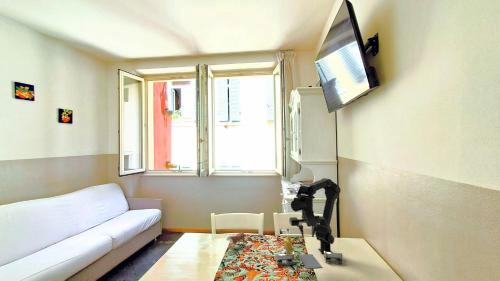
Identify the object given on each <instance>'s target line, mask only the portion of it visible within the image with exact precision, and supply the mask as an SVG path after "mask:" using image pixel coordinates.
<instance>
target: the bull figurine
mask: <svg viewBox="0 0 500 281" xmlns="http://www.w3.org/2000/svg"><path fill="white" fill-rule="evenodd" d="M225 240H226V241H228V242H230V243H231V244H232V248H233V249H234V250H235V249H236V246H237V245H240V242H242V245H245V232H244V231H241V232H238V233H236V234H229V235H227V237H226V239H225Z"/></svg>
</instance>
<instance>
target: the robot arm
mask: <svg viewBox="0 0 500 281" xmlns="http://www.w3.org/2000/svg"><path fill="white" fill-rule="evenodd" d="M322 189H324V195H325V202H324V207H323V212H322V216H321V215H315V212H314V205H313V204H314V200H315V198H316V197H315V196H314V195H315V194H317V191H319V190H322ZM340 194H341V187H340V186H339V185H338V184H337V183H335V182H334V181H333V180H332V179H330V178H326V177H324V178H321V179H319V180H317V181H314V182H311V183H309V182H308V183H302V184H300V186H299V188H298V190H297V193H296V195H295V197H293V200H292V201H291V202H290V208H291V210H292V211H294V212H295V213H296V212H300V211H301V218H300V219H298V217H295V216H294V217H291V216H290V217H289V219H288V221H289V223H288V224H290V226H291V227H297V228H298V229H299V232H300V235H301V237H302V238H304V235H305V234H304V225H303V224H306V226H307V227H309V228H310V227H311V237H312V238H314V236H315V238H316V241H319V246H320V247H319V248H318V249H317V250H318V251H319V252H320V253H321V255H324V251H326V252H333V250H331V249H332V248H331V247H332V246H331V245H333V244H334V243H335V237H334V236H333V234H332V231H333V230H332V228H331V222H332V216H333V212H334V207H335V202H336V200H337V199H338V198H339V196H340Z"/></svg>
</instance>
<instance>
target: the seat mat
mask: <svg viewBox="0 0 500 281" xmlns="http://www.w3.org/2000/svg"><path fill="white" fill-rule="evenodd" d="M298 257H299V259H300V260H301V262H302V263H303V265H304V267H305V268H306V269H307V270H309V269H323V266H322V265H321V264H320V262H319V261H318V260H317V258H316V257H315V256H314V254H312V253H309V254H306V253H305V254H298Z"/></svg>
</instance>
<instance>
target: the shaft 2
mask: <svg viewBox="0 0 500 281" xmlns="http://www.w3.org/2000/svg"><path fill="white" fill-rule="evenodd" d="M323 259H325V263H327V264H331V262H332V259H333V260H335V261H336V264H337V265H343V253H340V252H333V251H332V252H326V251H324V254H323Z"/></svg>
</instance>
